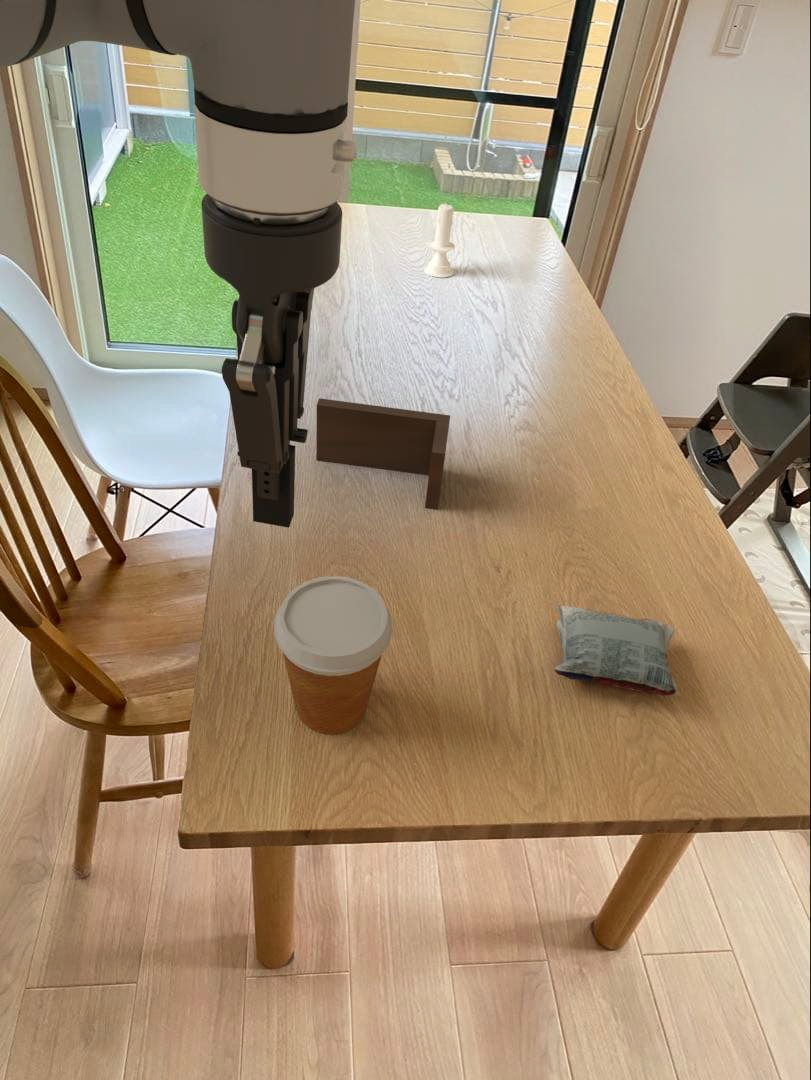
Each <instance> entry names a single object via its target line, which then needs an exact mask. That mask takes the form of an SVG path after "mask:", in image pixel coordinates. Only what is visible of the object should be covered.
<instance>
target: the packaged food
mask: <svg viewBox="0 0 811 1080" xmlns="http://www.w3.org/2000/svg"><path fill="white" fill-rule="evenodd" d="M556 607H557V610H558V613H559V617H560V618H559V619H558V620H557V622H556V626H557V630H558V632H560V645H561V646H562V647H561V648H562V652H563V655H562V662H561V663H560V664H558V665H557V666H556V667H554V668H553V671H554V672H555V673H556V674H557V675H559V676H562V677H565V678H566V679H569V680H573V681H580V682H587V683H595V684H601V685H611V686H614V687H617V688H621V689H627V690H631V691H637V692H640V693H645V694H646V693H647V694H652V695H656V696H661V697H664V696H680V695H681V694H680V692H679V689H678V686H677V683H676V681H675V680H674V678H673V677H672V674H671V670H670V665H669V662H668V657H667V656H668V655H667V653H668V649H669V645H670V643H671V640H672V638H673V635H674V634H675V628H674V627H672V626H670V625H668V624H667V623H665V622H663V621H659V622H657V621H656V620H655V619H652V618H634V617H631V616H626V615H622V614H615V613H609V612H599V611H595V610H590V609H586V608H581V607H578V606H577V607H576V606H567V605H566V606H565V605H559V604H558V601H556Z"/></svg>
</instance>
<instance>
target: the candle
mask: <svg viewBox="0 0 811 1080" xmlns="http://www.w3.org/2000/svg"><path fill="white" fill-rule="evenodd" d="M437 209H438V211H437V217H436V226H435V236H434V240H431V241H429V242H428V244H427V245H428V247H429V248H430V249H431V250H433V251H434V252H435V253H434V255H433V257H432V258H431V259H430V260H429V261H428V264H427V265H426V266H424V269H423V271H424V273H425V274H426V275H428V276H430V277H434V278H440V279H441V278H442V279H443V278H450V277H452V276H453V275H454V273H455V271H454V270H453V268H451V262H450V261H449V260H448V257H447V253H448V252H450V251H453V250H455V248H456V245H455V244H454V243H453V242H451V241H450V239H451V231H452V226H453V216H454V207H453V205H452V204H447V202H446V201H445V202H444V203H441V204H440V205H439V206H438V208H437Z"/></svg>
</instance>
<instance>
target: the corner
mask: <svg viewBox="0 0 811 1080" xmlns="http://www.w3.org/2000/svg"><path fill="white" fill-rule="evenodd" d="M450 421H451V415H449V414H443V413H436V412H435V413H434V412H428V411H427V412H426V411H419V410H412V409H404V408H396V407H390V406H382V405H375V404H374V405H373V404H367V403H360V402H359V403H357V402H351V401H343V400H334V399H327V398H321V397H319V398H318V399H317V403H316V448H315V449H316V453H315V454H316V457H315V459H316V461H322V462H328V463H337V464H344V465H351V466H357V467H358V466H359V467H364V468H365V467H366V468H374V469H381V470H389V471H396V472H402V473H403V472H404V473H412V474H416V475H417V474H418V475H425V476H428V478H427V479H428V481H427V486H426V496H425V503H424V509H425V508H426V509H431V510H432V509H433V510H438V509H439V508H438V507H439V502H440V494H441V488H442V482H443V481H442V480H443V474H444V467H445V466H444V465H445V459H446V451H447V444H448V437H449V436H448V435H449V429H450Z"/></svg>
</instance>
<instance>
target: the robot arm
mask: <svg viewBox="0 0 811 1080" xmlns="http://www.w3.org/2000/svg"><path fill="white" fill-rule="evenodd" d="M355 7H356V0H0V70H2V69H5V68H8V67H10V66H15V65H19V64H21V63H24V62H27V61H29V60H32V59H35V58H38V57H41V56H44V55H46V54H49V53H51V52H54V51H57V50H60V49H63V48H65V47H68V46H71V45H73V44H76V43H78V42H97V43H104V44H111V45H116V46H123V47H127V48H128V47H129V48H134V49H140V50H145V51H150V52H155V53H158V54H164V55H168V56H177V55H178V56H183V57H186V58H189V59H190V66H191V72H192V80H193V82H192V83H193V93H194V94H193V95H194V104H193V105H194V120H195V122H194V123H195V137H196V155H197V157H196V158H197V173H198V174H197V175H198V176H197V177H198V184H200V187H201V189H202V191H203V192H205V193H206V194H205V195H204V196H203V197H202V200H201V205H200V206H201V217H202V218H201V219H202V234H203V235H202V237H203V247H204V248H203V249H204V250H203V251H204V259H205V262H206V264H207V266H208V267H209V269H210V270H211V271H212V272H213V273H214V274H215V275H216V276H217V277H219V278H220V279H221V280H224V281H225V282H226V283H228V284H229V285H231V287H233V288H234V289H235V291H236V292H237V293H238V296H239V297H238V299H234V301H233V303H232V306H231V327H232V330H233V332H234V333H235V335H236V353H237V354H236V355H237V356H236V357H237V358H229V357H226V358H225V359H224V361H223V363H222V366H221V377H222V381H223V382H224V384H225V386H226V388H227V390H228V394H229V399H230V405H231V412H232V418H233V425H234V432H235V437H236V444H237V449H238V450H237V456H238V457H239V462H240V467H241V468H246V469H251V493H252V494H251V495H252V496H251V497H252V521H253V522H255V523H259V524H266V525H271V526H277V527H282V528H290V527H291V523H292V521H293V519H294V515H295V488H296V487H295V486H296V485H295V484H296V483H295V481H296V480H295V478H296V445H293V444H291V442H294V443H295V442H296V443H301V444H305V443H306V442H307V439H308V432H309V431H308V430H309V429H307V428H306V429H305V428H300V427H298V420H301V418H302V417H303V415H304V412H305V407H304V401H305V389H306V378H307V376H306V375H307V364H308V353H309V352H308V351H309V342H310V341H309V340H310V330H311V329H310V327H311V315H312V310H313V301H314V300H313V299H314V294H315V289H316V288H318V287H320V286H322V285H324V284H326V283H327V282H328V281H330V280H331V279H333V277H334V276H335V274H336V273H337V272H338V269H339V267H340V260H341V243H342V227H343V226H342V224H343V208H342V207H341V205H340V204H339V203H338V201H339V200H340V198H341V197H342V195H343V190H344V189H343V188H344V174H345V163H351V162H354V161H355V160H356V159H357V156H358V148H357V144H356V142H355V141H352V140H345V139H344V133H345V132H346V130H347V117H348V111H349V110H348V109H349V85H350V73H351V60H352V45H353V30H354V29H353V28H354V18H355V17H354V16H355Z"/></svg>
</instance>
